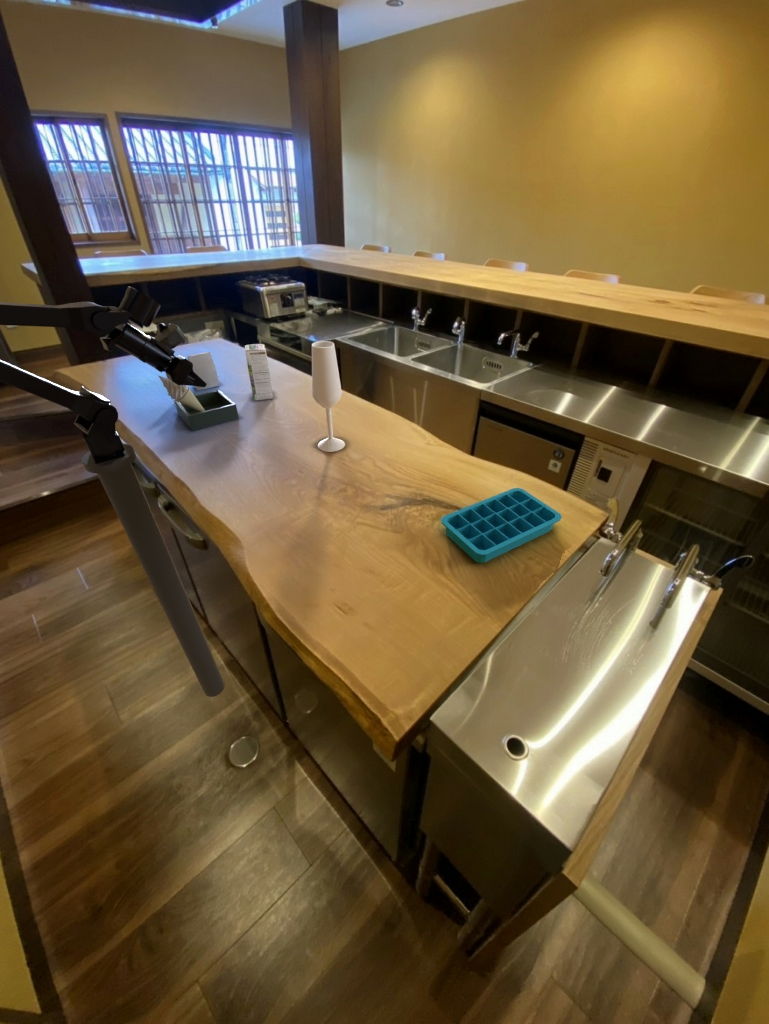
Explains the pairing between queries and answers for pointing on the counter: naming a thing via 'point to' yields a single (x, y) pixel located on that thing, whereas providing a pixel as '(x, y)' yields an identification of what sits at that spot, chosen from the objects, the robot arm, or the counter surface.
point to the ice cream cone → (181, 394)
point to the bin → (208, 410)
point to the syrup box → (258, 371)
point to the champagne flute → (326, 387)
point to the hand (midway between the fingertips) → (198, 380)
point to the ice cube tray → (499, 524)
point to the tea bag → (204, 369)
